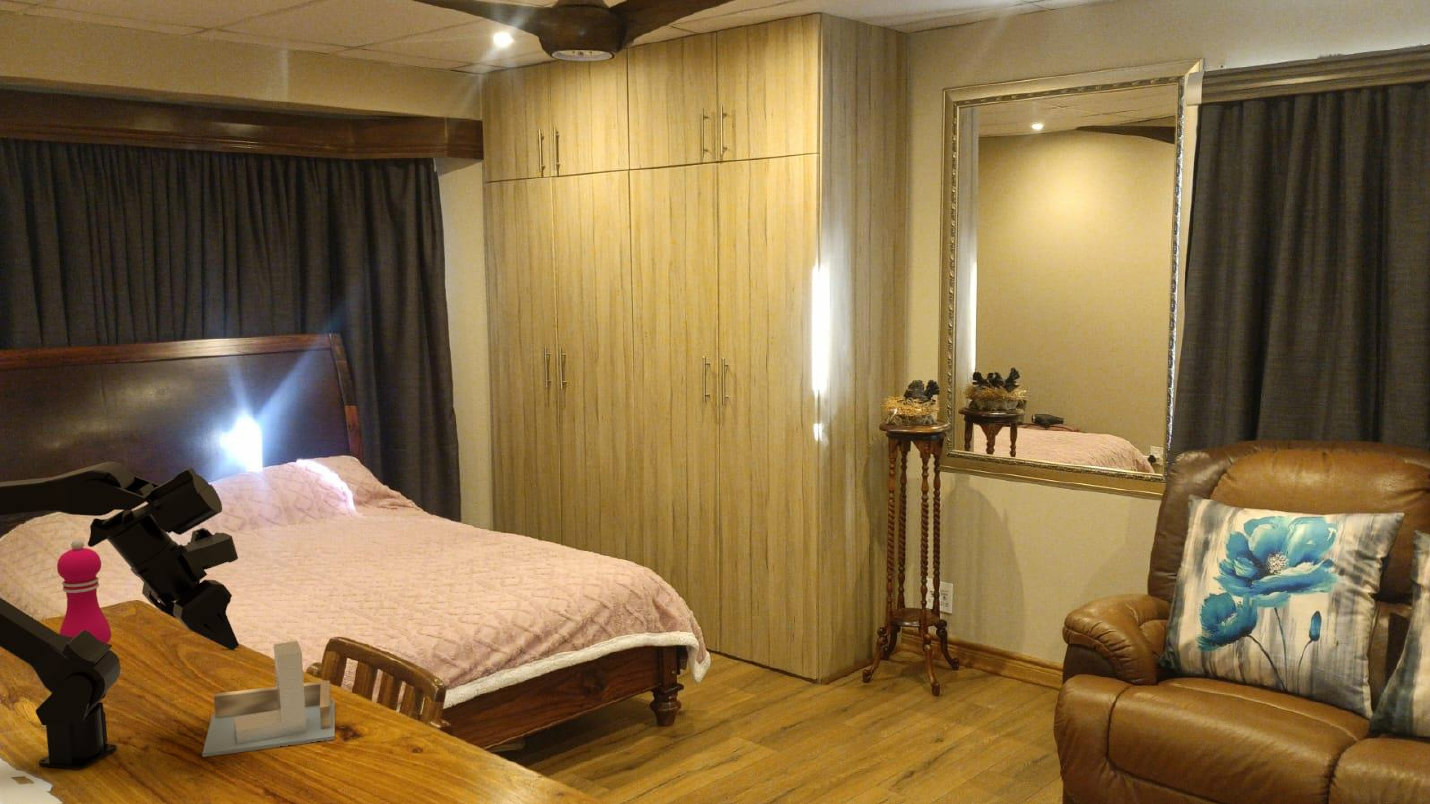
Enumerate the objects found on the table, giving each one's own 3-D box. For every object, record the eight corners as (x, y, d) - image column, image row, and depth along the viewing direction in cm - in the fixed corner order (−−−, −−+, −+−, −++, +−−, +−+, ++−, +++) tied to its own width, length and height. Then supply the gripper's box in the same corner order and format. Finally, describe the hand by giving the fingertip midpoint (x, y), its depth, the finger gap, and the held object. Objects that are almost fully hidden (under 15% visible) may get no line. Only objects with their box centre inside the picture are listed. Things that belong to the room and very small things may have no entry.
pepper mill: (123, 656, 185) (113, 533, 183) (94, 672, 178) (84, 545, 176) (80, 655, 186) (70, 533, 183) (50, 671, 179) (39, 544, 176)
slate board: (202, 757, 148) (202, 753, 148) (212, 718, 160) (212, 714, 160) (334, 739, 153) (334, 736, 153) (334, 703, 165) (334, 700, 165)
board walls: (209, 747, 151) (207, 721, 150) (216, 717, 160) (214, 693, 160) (330, 731, 155) (329, 706, 155) (330, 703, 165) (329, 680, 164)
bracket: (237, 744, 150) (231, 662, 149) (234, 730, 155) (229, 650, 153) (306, 732, 154) (301, 652, 153) (301, 718, 159) (297, 640, 157)
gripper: (227, 520, 144) (300, 612, 150) (183, 502, 158) (251, 587, 165) (148, 579, 138) (227, 673, 145) (110, 556, 153) (183, 641, 159)
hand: (224, 640), depth 153 cm, fingers open, 9 cm apart
